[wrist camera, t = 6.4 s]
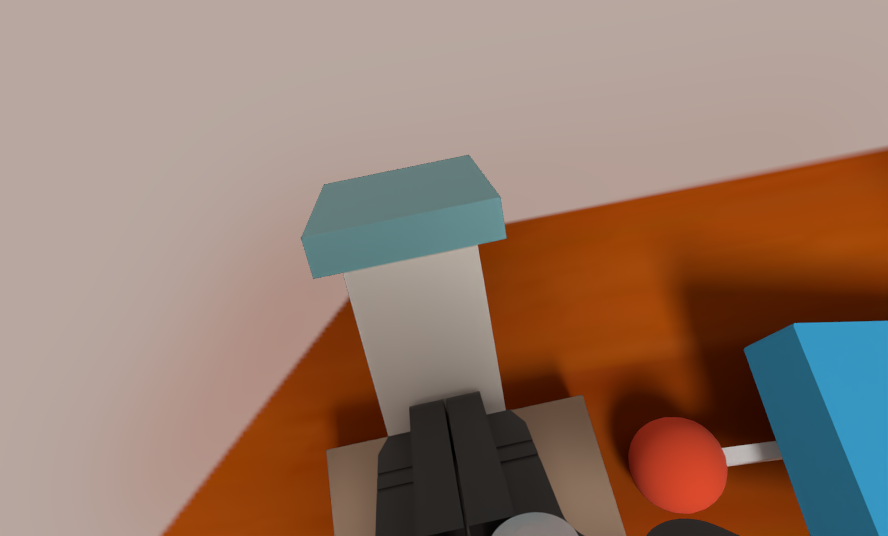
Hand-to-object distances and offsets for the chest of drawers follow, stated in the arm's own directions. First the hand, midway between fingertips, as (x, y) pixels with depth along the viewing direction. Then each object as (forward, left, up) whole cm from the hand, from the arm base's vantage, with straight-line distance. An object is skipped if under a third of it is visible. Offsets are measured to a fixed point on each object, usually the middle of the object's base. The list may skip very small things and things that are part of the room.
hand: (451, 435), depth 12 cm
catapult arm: (+4, +3, -8) cm, 9 cm away
